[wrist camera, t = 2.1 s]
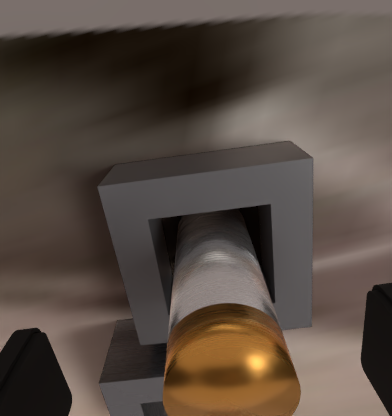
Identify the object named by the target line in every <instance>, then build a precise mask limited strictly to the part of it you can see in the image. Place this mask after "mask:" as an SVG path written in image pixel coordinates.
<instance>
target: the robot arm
mask: <svg viewBox="0 0 392 416" xmlns="http://www.w3.org/2000/svg"><path fill="white" fill-rule="evenodd" d="M361 364H362V367H363V370H364V372H365V374H366V376H367V377H368V379H369V381H370V382H371V384H372V386H373V388H374V389H375V391H376V393H377V394H378V396H379V398H380V400H381V401H382V403H383V405H384V406H385V408H386V410H387V412H388V413H389V415H390V416H392V283H387V284H379V285H374V287H373V289H372V291H369V292H368V293H367V300H366V311H365V321H364V331H363V341H362V352H361ZM71 405H72V394H71V391H70V389H69V387H68V384H67V382H66V380H65V377H64V375H63V373H62V370H61V368H60V366H59V363H58V361H57V359H56V356H55V354H54V351H53V349H52V347H51V344H50V342H49V340H48V337H47V335H46V334H45V333H44V332H41V331H40V330H39V329H38V328H31V329H23V330H17V331H15V332H14V333H13V334H12V335H11V337H10V338H9V340H8V341H7V343H6V345H5V346H4V348H3V349H2V351H1V352H0V416H68V415H69V412H70V409H71Z"/></svg>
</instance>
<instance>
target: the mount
mask: <svg viewBox="0 0 392 416" xmlns="http://www.w3.org/2000/svg"><path fill="white" fill-rule="evenodd" d="M97 187H98V191H99V194H100V198H101V202H102V206H103V209H104V213H105V217H106V220H107V224H108V228H109V231H110V235H111V239H112V242H113V246H114V250H115V253H116V257H117V261H118V264H119V268H120V272H121V275H122V279H123V283H124V286H125V290H126V294H127V297H128V301H129V305H130V308H131V312H132V316H133V320H134V323H135V327H136V331H137V334H138V338H139V342H140V345H149V344H159V343H167V342H168V331H169V320H170V309H171V298H172V287H173V276H172V272H171V267H170V262H169V257H168V251H167V246H166V241H165V236H164V231H163V226H162V221H161V218H165V217H172V216H180V215H188V214H196V213H204V212H212V211H220V210H228V209H236V208H244V207H251V206H258V207H259V223H260V239H261V254H262V265H260V268H261V271H262V274H263V277H264V280H265V283H266V286H267V289H268V292H269V295H270V298H271V301H272V304H273V307H274V310H275V313H276V315H277V318H278V321H279V324H280V327H281V330H287V329H296V328H305V327H312V241H313V157H311V156H310V155H309V154H307V153H306V152H305V151H303V150H302V149H301V148H299V147H298V146H297V145H295V144H294V143H293V142H291V141H286V142H278V143H271V144H264V145H256V146H249V147H241V148H234V149H227V150H219V151H212V152H204V153H197V154H190V155H182V156H175V157H167V158H160V159H153V160H145V161H138V162H130V163H123V164H116V165H114V167H113V168H112V169H111V170H110V172H109V173H108V174H107V175H106V176H105V178H104V179H103V180H102V181H101V183H100V184H99V185H98V186H97Z"/></svg>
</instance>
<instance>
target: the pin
mask: <svg viewBox="0 0 392 416" xmlns="http://www.w3.org/2000/svg"><path fill="white" fill-rule="evenodd" d="M300 394H301V390H300V384H299V381H298V378H297V375H296V372H295V369H294V366H293V363H292V360H291V357H290V354H289V351H288V348H287V345H286V342H285V339H284V336H283V333H282V330H281V327H280V324H279V321H278V318H277V315H276V313H275V310H274V307H273V304H272V301H271V298H270V295H269V292H268V289H267V286H266V283H265V280H264V277H263V274H262V271H261V268H260V265H259V262H258V259H257V256H256V253H255V250H254V247H253V245H252V242H251V239H250V236H249V233H248V230H247V227H246V224H245V221H244V218H243V216H242V214H241V213H240V211H239V210H238V209H237V208H236V209H228V210H220V211H212V212H204V213H196V214H188V215H182V216H181V218H180V221H179V225H178V233H177V244H176V255H175V266H174V276H173V287H172V298H171V309H170V320H169V331H168V342H167V352H166V363H165V374H164V385H163V405H164V408H165V411H166V413H167V415H168V416H292V415H293V413H294V412H295V410H296V408H297V406H298V404H299V400H300Z"/></svg>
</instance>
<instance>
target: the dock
mask: <svg viewBox="0 0 392 416" xmlns="http://www.w3.org/2000/svg"><path fill="white" fill-rule="evenodd" d="M166 352H167V343H159V344H149V345H140V342H139V338H138V334H137V331H136V327H135V323H134V320H133V319H129V320H120V321H117V324H116V327H115V331H114V334H113V337H112V341H111V344H110V347H109V351H108V354H107V358H106V361H105V364H104V368H103V371H102V374H101V378H100V381H99V386H100V388H101V391H102V394H103V397H104V399H105V402H106V405H107V408H108V410H109V413H110V416H168V415H167V413H166V411H165V408H164V405H163V385H164V374H165V363H166Z"/></svg>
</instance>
